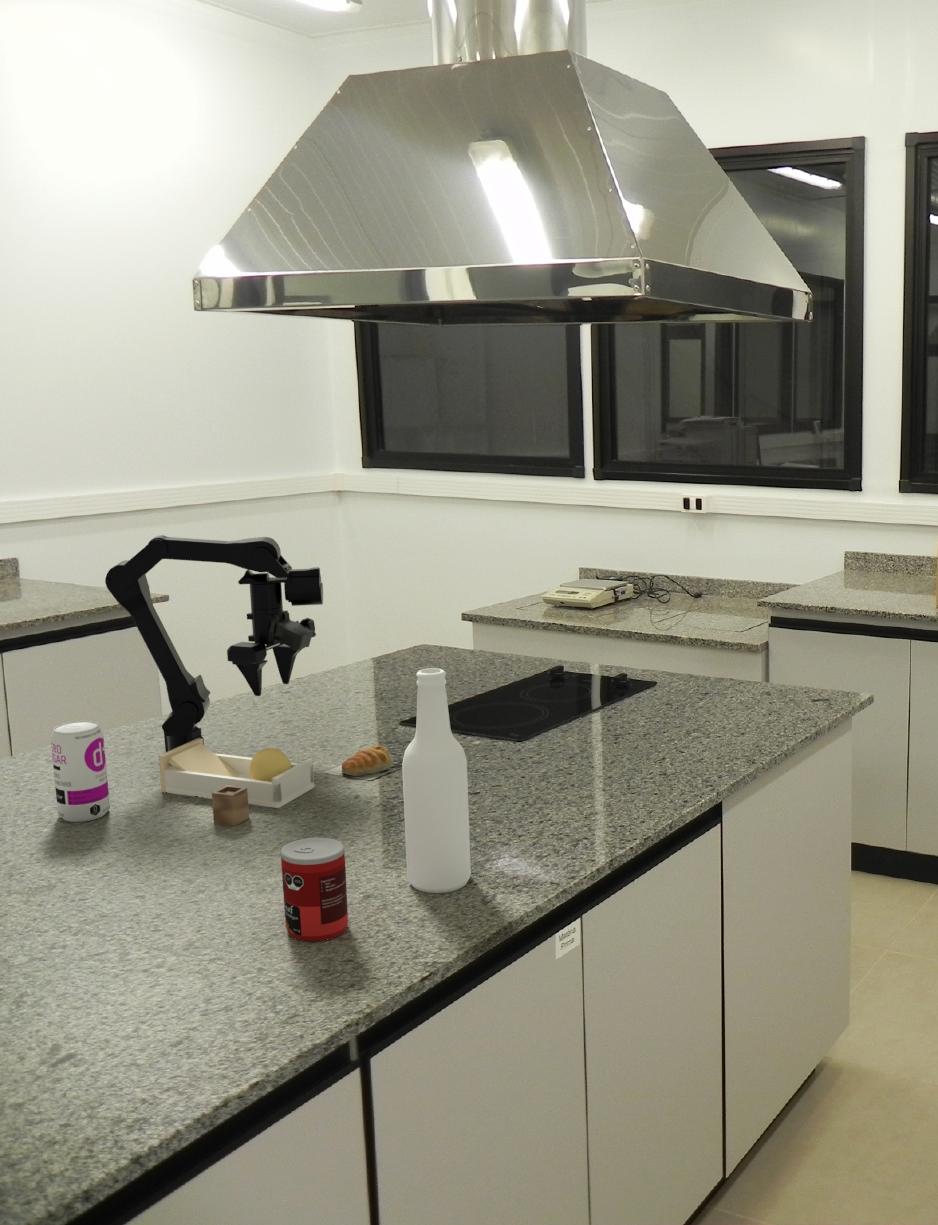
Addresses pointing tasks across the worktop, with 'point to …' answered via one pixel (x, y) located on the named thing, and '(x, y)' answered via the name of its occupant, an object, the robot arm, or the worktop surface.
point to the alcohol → (435, 794)
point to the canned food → (314, 888)
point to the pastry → (368, 761)
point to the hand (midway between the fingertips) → (272, 689)
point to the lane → (229, 775)
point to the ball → (268, 764)
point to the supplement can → (80, 771)
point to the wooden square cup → (230, 805)
